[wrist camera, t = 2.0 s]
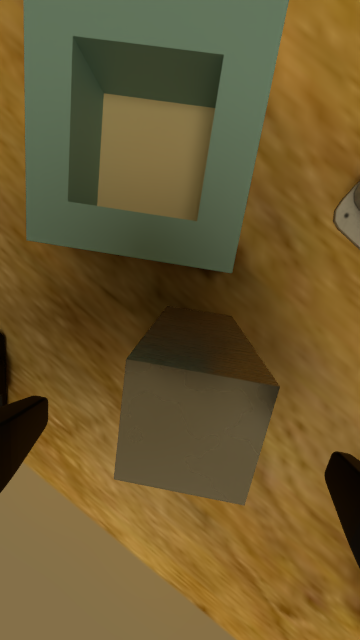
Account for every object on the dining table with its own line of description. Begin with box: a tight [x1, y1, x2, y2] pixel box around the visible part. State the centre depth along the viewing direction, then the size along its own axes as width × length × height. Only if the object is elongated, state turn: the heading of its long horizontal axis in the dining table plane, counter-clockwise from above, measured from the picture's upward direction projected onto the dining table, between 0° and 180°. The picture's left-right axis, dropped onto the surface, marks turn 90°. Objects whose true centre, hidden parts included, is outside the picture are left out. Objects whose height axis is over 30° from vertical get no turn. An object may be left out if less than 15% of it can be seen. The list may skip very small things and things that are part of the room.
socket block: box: [24, 0, 289, 273], centre depth 11 cm, size 10×10×4 cm
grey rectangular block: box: [114, 306, 280, 505], centre depth 11 cm, size 4×4×9 cm
